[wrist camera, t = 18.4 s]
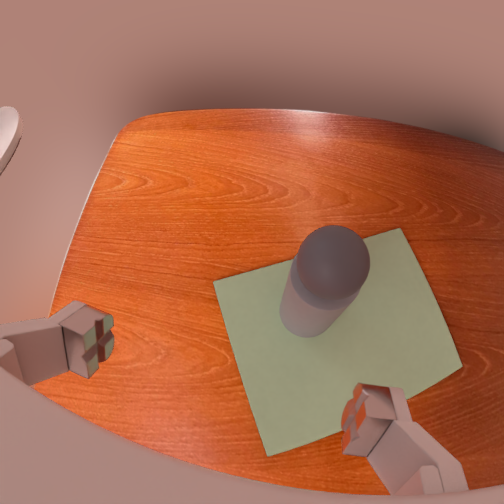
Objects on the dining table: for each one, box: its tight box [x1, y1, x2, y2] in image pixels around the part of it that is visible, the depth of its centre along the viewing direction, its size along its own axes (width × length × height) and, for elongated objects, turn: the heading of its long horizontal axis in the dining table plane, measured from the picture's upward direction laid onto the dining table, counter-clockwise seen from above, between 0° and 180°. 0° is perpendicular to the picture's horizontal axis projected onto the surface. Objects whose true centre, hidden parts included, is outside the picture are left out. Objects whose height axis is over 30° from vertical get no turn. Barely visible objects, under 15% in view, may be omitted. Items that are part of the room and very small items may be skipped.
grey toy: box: [279, 225, 370, 338], centre depth 22 cm, size 5×5×12 cm
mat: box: [213, 228, 462, 456], centre depth 27 cm, size 20×16×1 cm
